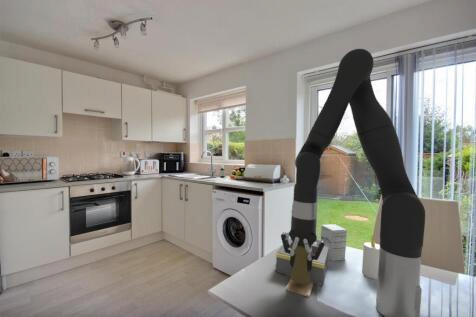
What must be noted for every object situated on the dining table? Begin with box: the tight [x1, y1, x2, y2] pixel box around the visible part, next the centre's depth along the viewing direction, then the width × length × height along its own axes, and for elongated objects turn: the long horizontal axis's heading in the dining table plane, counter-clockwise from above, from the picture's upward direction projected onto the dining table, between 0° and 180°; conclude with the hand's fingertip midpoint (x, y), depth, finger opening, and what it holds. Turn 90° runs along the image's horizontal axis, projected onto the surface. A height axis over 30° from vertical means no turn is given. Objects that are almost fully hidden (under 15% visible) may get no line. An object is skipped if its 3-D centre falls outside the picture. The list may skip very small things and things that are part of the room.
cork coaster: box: [285, 278, 314, 298], centre depth 72 cm, size 7×7×1 cm
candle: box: [361, 233, 380, 280], centre depth 83 cm, size 6×6×15 cm
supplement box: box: [320, 223, 348, 262], centre depth 96 cm, size 7×7×13 cm
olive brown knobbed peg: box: [290, 245, 311, 284], centre depth 72 cm, size 6×6×11 cm
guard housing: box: [275, 238, 329, 286], centre depth 85 cm, size 16×17×7 cm
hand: (300, 268), depth 72 cm, fingers closed on olive brown knobbed peg, 4 cm apart
